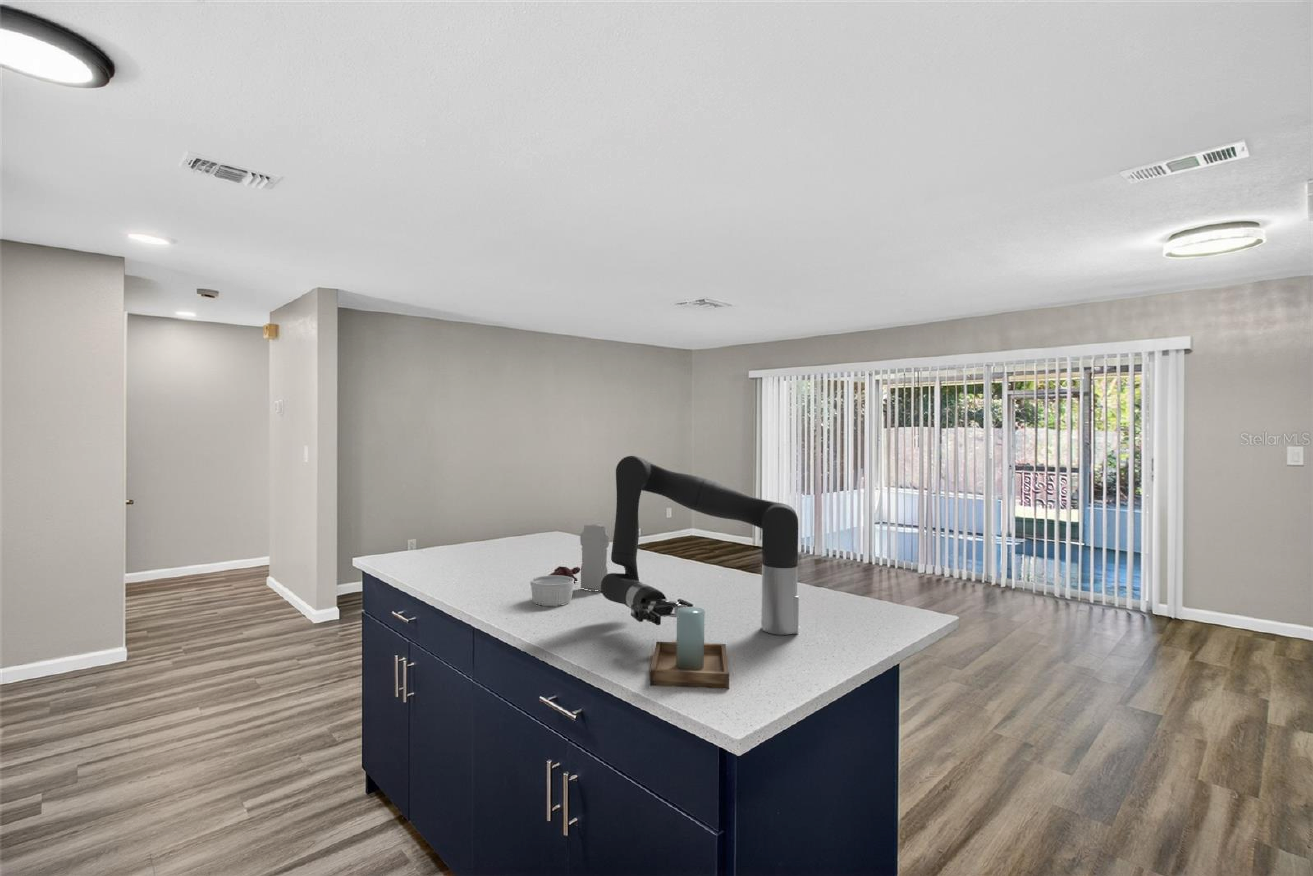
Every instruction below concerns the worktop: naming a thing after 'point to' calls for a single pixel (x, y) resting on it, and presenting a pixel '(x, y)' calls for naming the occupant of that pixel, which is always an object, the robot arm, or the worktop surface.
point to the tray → (709, 676)
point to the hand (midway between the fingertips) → (676, 618)
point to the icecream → (566, 572)
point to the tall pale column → (593, 556)
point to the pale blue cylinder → (690, 638)
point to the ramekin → (552, 590)
